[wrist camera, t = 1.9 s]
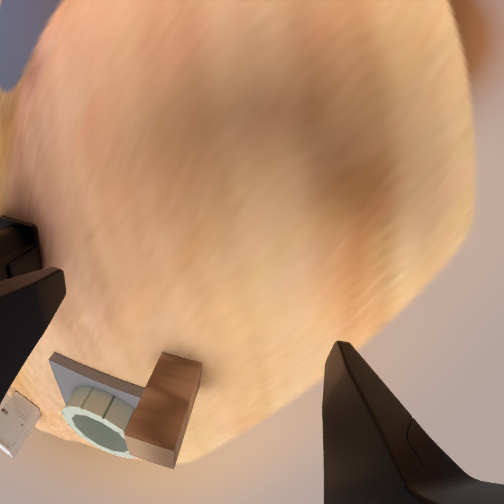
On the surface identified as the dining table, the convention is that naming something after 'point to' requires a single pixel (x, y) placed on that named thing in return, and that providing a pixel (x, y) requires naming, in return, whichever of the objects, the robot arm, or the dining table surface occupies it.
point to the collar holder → (96, 404)
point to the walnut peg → (164, 411)
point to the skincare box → (16, 423)
